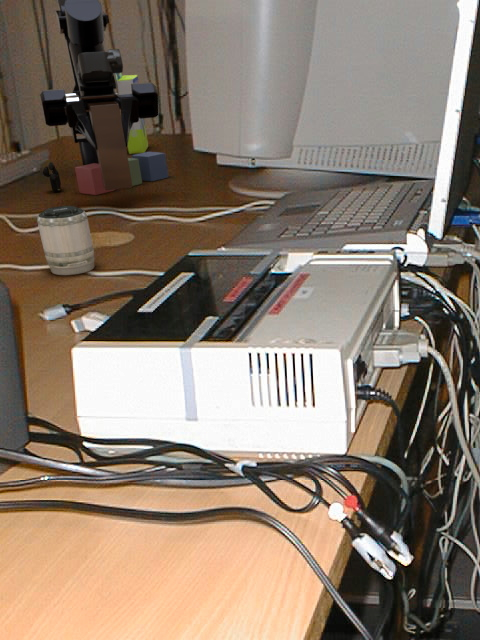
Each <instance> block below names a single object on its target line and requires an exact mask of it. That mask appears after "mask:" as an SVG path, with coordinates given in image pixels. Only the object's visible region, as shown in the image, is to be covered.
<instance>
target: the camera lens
mask: <svg viewBox="0 0 480 640" xmlns="http://www.w3.org/2000/svg"><path fill="white" fill-rule="evenodd" d="M88 219H89V218H88V213H87V212H86V211H85V210H84V209H82V208H80V207H77V206H74V205H61V206H54V207H50V208H46V209H44V210H43V211H41V212H39V214H38V215H37V218H36V222H37V226H38V231H39V235H40V239H41V243H42V244H41V245H42V248H43V252H44V258H45V259H46V263H47V266H48V267H49V269H50V272H51V273H52V274H53V275H58V276H73V275H81V274H84V273H88V272H90V271H93V270H94V269H95V266H96V265H95V260H96V258H95V257H96V255H95V248H94V245H93V244H94V243H93V238H92V234H91V230H90V229H91V228H90V224H89V220H88Z"/></svg>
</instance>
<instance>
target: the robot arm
mask: <svg viewBox="0 0 480 640" xmlns="http://www.w3.org/2000/svg"><path fill="white" fill-rule="evenodd" d="M54 2H55V3H56V4H57V7H58V10H55V18H56V23H57V29H58V32H59V34H60V35H62V34H63V37H64V41H65V45H66V50H67V55H68V59H69V64H70V65H69V66H70V70H71V75H72V79H73V85H74V87H73V89H72V93H66V91H65V89H64V88H55V89H43V90H41V92H40V93H39V97H40V103H41V107H42V108H41V109H42V112H43V118H44V122H45V125H47V126H49V127H57V126H66V125H67V124H68V127H69V128H70V130H71V135H72V140H73V142H74V144H78V145H79V151H80V156H81V162H82V166H84V165H88V164H93V163H96V164H99V161H98V156H97V150H98V148H97V143H96V138H95V134H94V132H93V129H92V123H91V118H90V113H89V107H88V103H100V102H113V101H116V102H117V103H118V104H119V109H120V115H121V121H122V127H123V133H124V139H125V145H126V148H128V140H129V134H130V130H131V128H132V125H133V123H137V122H138V121H139V118H140V119H142V118H144V119H152V118H156V117H158V116H159V93H158V88H157V85H155V84H154V83H153V82H138V83H136V84H131V90H132V94H124V95H120V94H119V93H118V92H117V91H116V89H117V83H116V79H115V74H114V73H122V74H123V72H124V64H123V59H122V55H121V51H120V49H119V48H109V49H107V51H106V48H105V44H104V42H105V41H104V40H105V32H106V30H107V25H108V24H110V19H109V18H110V17H109V14H107V13H105V11H104V10H103V5H102V3H101V2H100V0H54Z"/></svg>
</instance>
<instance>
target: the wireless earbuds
mask: <svg viewBox="0 0 480 640" xmlns="http://www.w3.org/2000/svg"><path fill="white" fill-rule="evenodd" d="M50 171H51V173H50ZM42 174H43V176H44V177H46V178H49V182H50V186H51V190H52V192H54V193H59V192H60V191H61V187H62V182H61V178H60V173H59V172H58V170H57V168H56V166H55V164H54V163H53V162H52V161H50V162H49V163H48V165H47V166H45V167H43V169H42Z"/></svg>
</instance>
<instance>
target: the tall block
mask: <svg viewBox="0 0 480 640" xmlns="http://www.w3.org/2000/svg"><path fill="white" fill-rule="evenodd" d="M88 107H89V113H90V118H91V123H92V129H93V132H94V134H95V138H96V143H97V148H98V150H97V156H98V161H99V166H100V172H101V177H102V183H103V186H104V188H105V190H124V189H133V187H134V186H132V180H131V174H130V168H129V162H128V158H129V156H128V152H127V151H128V149H127V147H126V145H125V139H124V133H123V127H122V121H121V110H120V109H119V104H118V103H117V102H116V101H113V102H100V103H88Z"/></svg>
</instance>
